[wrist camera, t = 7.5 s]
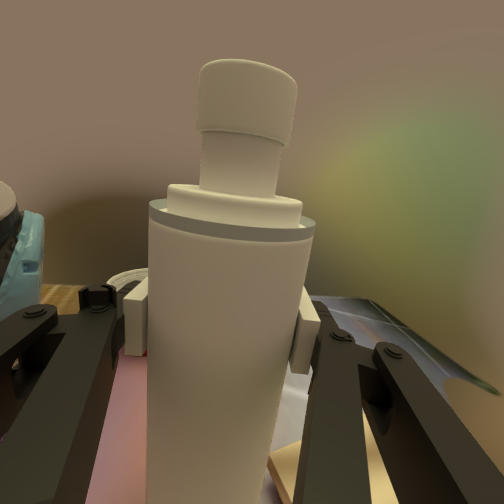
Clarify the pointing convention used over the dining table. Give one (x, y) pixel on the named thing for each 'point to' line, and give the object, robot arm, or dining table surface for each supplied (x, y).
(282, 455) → the stand
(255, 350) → the spray bottle
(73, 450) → the robot arm
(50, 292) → the dining table surface
